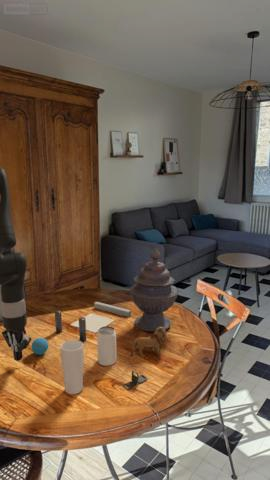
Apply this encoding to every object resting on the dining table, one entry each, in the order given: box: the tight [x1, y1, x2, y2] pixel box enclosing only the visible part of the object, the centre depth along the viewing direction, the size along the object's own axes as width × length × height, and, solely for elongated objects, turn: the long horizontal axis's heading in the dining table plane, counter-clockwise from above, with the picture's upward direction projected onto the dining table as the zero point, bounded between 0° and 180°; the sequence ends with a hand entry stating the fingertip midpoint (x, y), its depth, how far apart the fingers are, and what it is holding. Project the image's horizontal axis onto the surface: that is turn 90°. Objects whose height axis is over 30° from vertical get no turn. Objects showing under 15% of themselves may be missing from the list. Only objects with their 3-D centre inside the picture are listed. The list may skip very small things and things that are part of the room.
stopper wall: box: [93, 301, 132, 318], centre depth 162 cm, size 20×2×2 cm, turn 57°
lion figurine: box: [129, 327, 167, 358], centre depth 125 cm, size 15×5×9 cm, turn 117°
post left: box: [54, 309, 63, 334], centre depth 142 cm, size 3×3×9 cm
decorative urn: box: [129, 247, 179, 333], centre depth 145 cm, size 20×20×35 cm
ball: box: [31, 337, 49, 356], centre depth 126 cm, size 6×6×6 cm
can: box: [96, 325, 117, 367], centre depth 120 cm, size 6×6×12 cm
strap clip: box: [122, 369, 149, 391], centre depth 109 cm, size 8×3×4 cm, turn 130°
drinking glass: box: [60, 339, 85, 395], centre depth 104 cm, size 7×7×15 cm
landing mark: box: [70, 312, 116, 334], centre depth 151 cm, size 14×14×1 cm
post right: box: [78, 316, 87, 343], centre depth 135 cm, size 3×3×9 cm
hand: (18, 359), depth 118 cm, fingers closed
